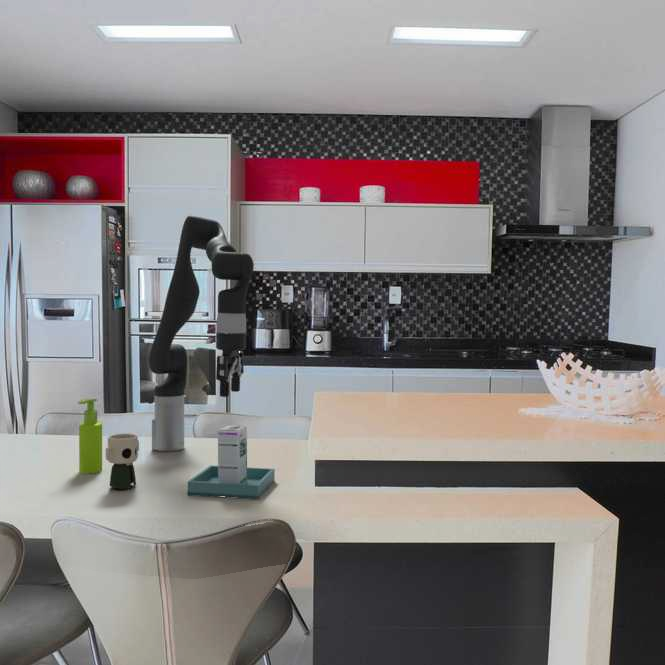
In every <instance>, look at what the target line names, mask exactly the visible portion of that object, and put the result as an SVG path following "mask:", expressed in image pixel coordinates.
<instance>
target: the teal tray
mask: <svg viewBox="0 0 665 665" xmlns="http://www.w3.org/2000/svg"><path fill="white" fill-rule="evenodd" d="M275 470H276V469H275V468H266V467H264V468H262V467H249V466H247V482H246V483H245V484H236V483H219V482H218V465H212V464H210V465H209V466H207V467H206V468H205V469H203V470H202V471H200V472H199V473H197V475H195V476H194V477H192V478H191V479H190V480H188V481H187V496H194V495H199V496H198V497H210V496H225V497H224V498H226V497H237V498H236V499H242V498H249V499H248V500H259V499H260V498H261V497H262V496H263V495H264V494H265V493H266V492H267V490H268V489H269V488H270V487H271V486H272V485H273V483H275V482H276V481H275V480H276V479H275V478H276V476H275V475H276V474H275V472H276V471H275ZM264 492H265V493H264ZM263 493H264V494H263ZM262 494H263V495H262Z"/></svg>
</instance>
